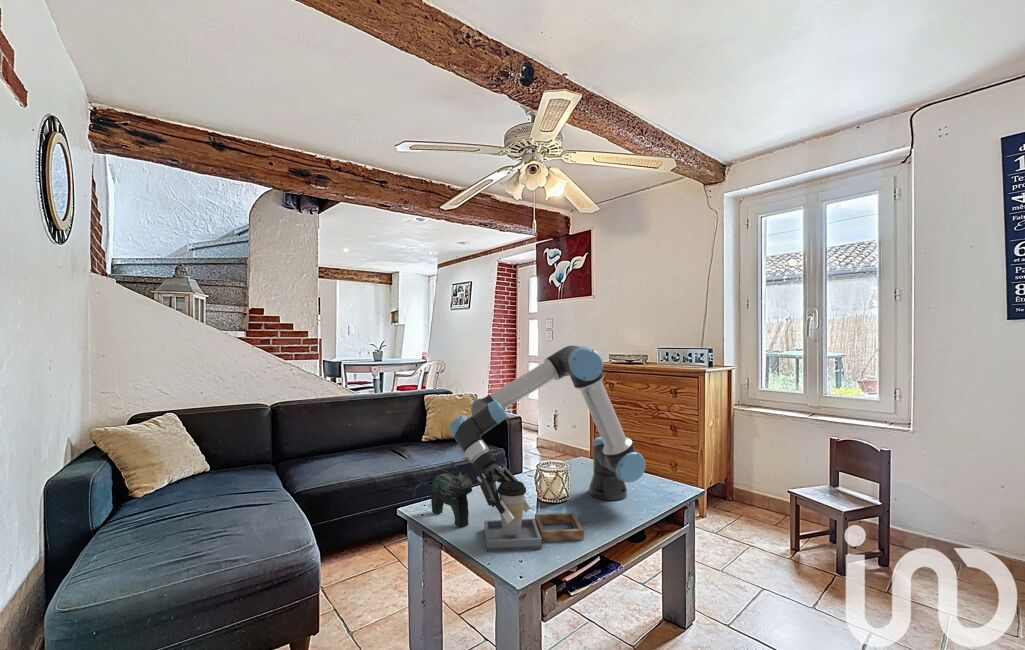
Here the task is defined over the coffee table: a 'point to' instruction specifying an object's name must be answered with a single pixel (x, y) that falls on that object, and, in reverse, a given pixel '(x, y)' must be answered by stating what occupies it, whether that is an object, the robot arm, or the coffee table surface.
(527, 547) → the tray
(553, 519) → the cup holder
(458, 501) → the dark green textured figure
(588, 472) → the coffee table surface
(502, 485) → the coffee cup
